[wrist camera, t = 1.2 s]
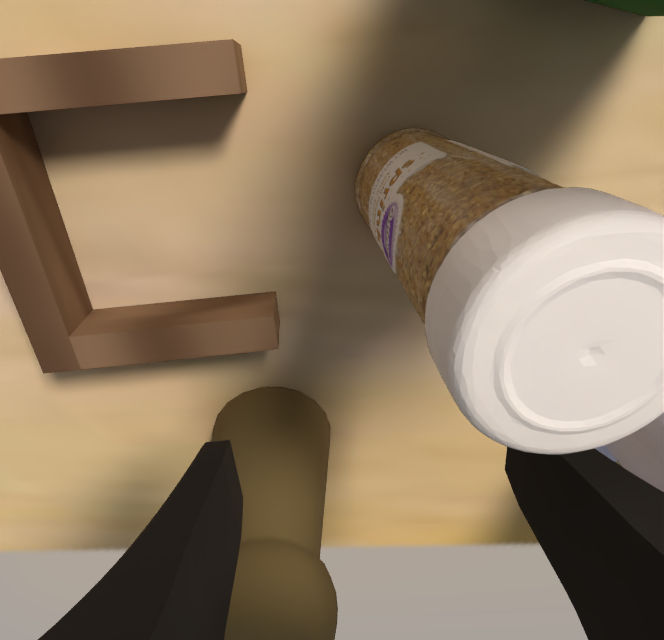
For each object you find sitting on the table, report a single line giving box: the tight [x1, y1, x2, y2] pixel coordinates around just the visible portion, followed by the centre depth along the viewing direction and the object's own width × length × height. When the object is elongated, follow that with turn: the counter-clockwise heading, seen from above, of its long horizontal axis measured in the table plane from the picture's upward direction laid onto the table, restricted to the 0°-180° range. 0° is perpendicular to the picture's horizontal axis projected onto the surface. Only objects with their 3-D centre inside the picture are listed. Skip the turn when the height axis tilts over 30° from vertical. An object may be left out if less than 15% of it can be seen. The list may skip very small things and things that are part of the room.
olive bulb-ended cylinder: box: [213, 387, 338, 640], centre depth 20 cm, size 6×6×11 cm
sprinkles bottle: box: [355, 128, 664, 454], centre depth 14 cm, size 5×5×14 cm
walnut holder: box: [0, 39, 280, 373], centre depth 18 cm, size 10×11×2 cm
